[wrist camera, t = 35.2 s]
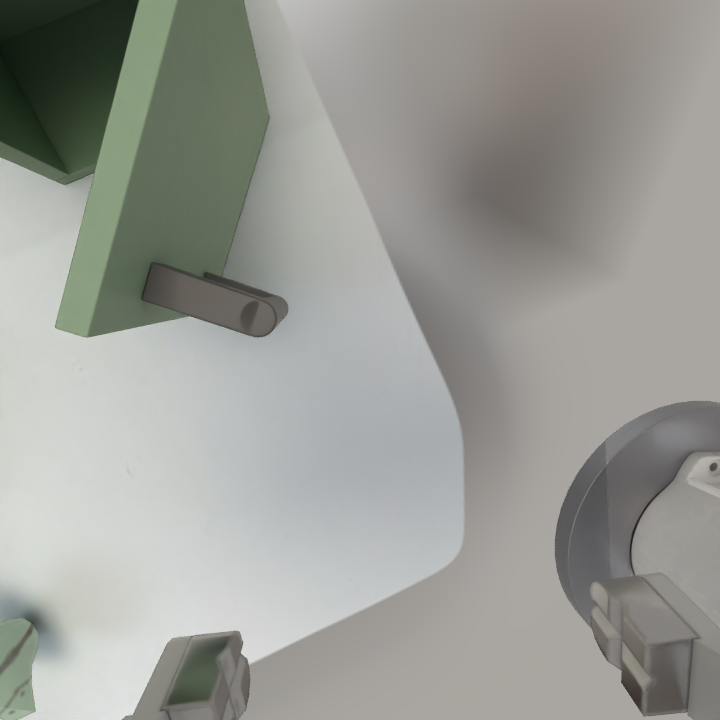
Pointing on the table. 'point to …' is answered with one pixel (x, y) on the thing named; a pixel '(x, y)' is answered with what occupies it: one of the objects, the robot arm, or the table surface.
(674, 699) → the robot arm
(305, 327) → the table surface
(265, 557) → the table surface
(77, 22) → the cabinet
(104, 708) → the table surface
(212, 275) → the door
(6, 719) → the robot head
